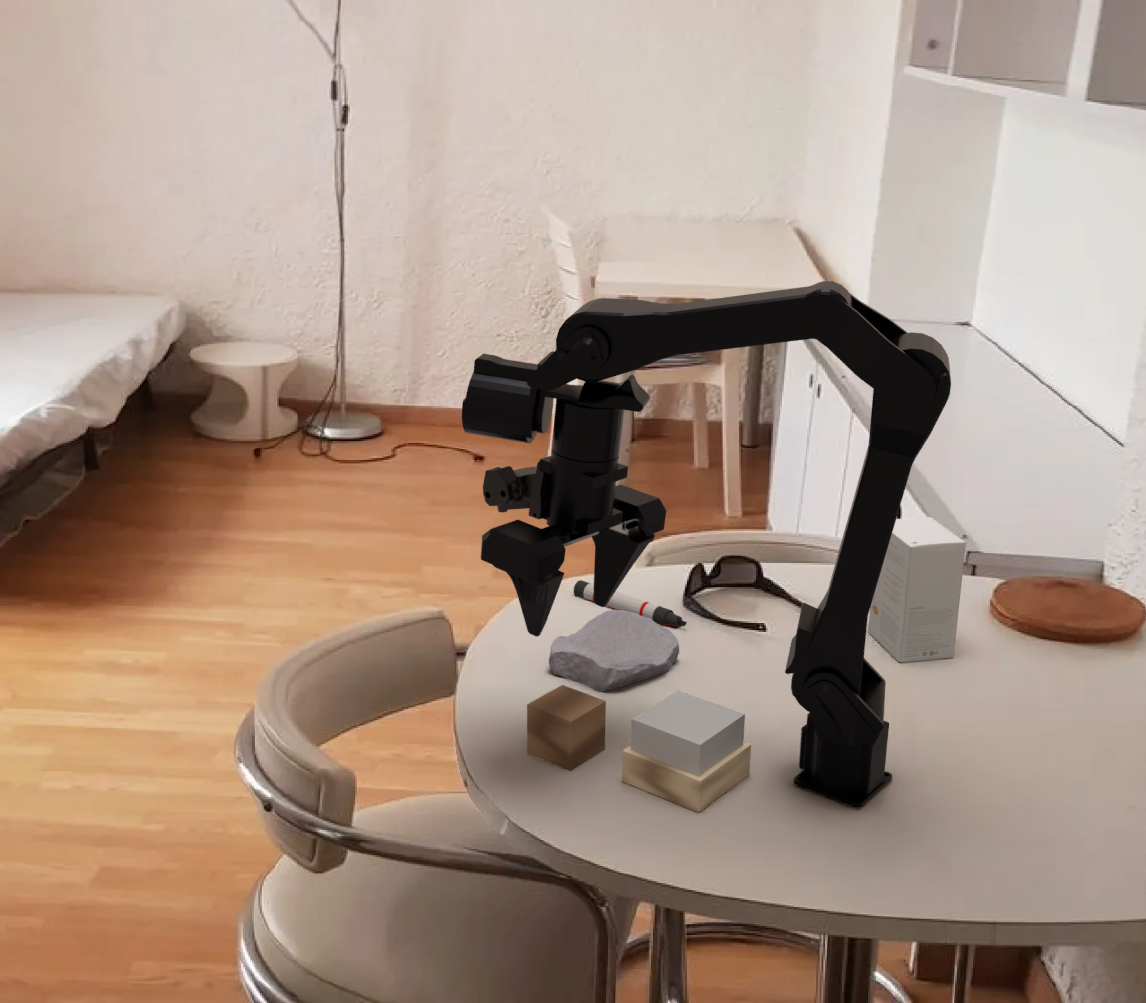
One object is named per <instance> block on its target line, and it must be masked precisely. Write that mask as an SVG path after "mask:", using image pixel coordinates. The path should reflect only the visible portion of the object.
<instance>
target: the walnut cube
mask: <svg viewBox="0 0 1146 1003" xmlns="http://www.w3.org/2000/svg"><path fill="white" fill-rule="evenodd" d="M606 707H607V702H606V700H604V699H603V698H602V699H601V698H599V697H596V696H594V695H591V694H588V693H585V692H583V691H580V690H577V689H575V688H572V687H569V686H566V685H564V684H562V685H561V684H560V685H559V686H557V687H556V688H554V689H553V690H550V691H549V692H546V693H545V694H543V695H541V696H539V697H538V698H536V699H535V700H533V701H531V702H529V703H527V704H526V713H527V714H526V737H527V738H526V744H527V745H526V746H527V747H526V751H527V753H526V754H528V755H530V756H532V757H534V758H535V757H536V758H537V759H539V760H541V761H544V762H547V763H549V764H552V765H554V766H557V767H559V768H561V769H564V770H566V771H569V772H572V771H573V770H575V769H577V768H578V767H580V766H583V764H585V763H586V762H588V761H590V760H591V759H593V758H594V757H596V756H598V755H599V754H601V753H602V752H604V751H605V750H606V723H607V720H606V719H607V718H606V712H607V708H606Z"/></svg>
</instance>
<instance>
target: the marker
mask: <svg viewBox="0 0 1146 1003" xmlns="http://www.w3.org/2000/svg"><path fill="white" fill-rule="evenodd" d="M573 594H574V596H576V597H579V598H582V599H584V600H586V601H590V602H592V601H593V603H594V583H592V582H588V581H585V580H578V581H576V583H575V584H574V586H573ZM605 607H607V608H611V609H612V610H623V611H627V612H633V613H637V614H639V615H640V616H643V617H645V618H650V619H651V620H653V621H654V622H655V623H658V624H659V625H660V624H661V626H662V627H666V626H671V627H675V628H680V627H681V626H682V627H685V626H686V625H687V623H688V621H685V620H683V618H682V617H681V616H680V615H677V614H675V612H674V610H672V609H669V608H666V607H663V606H661V605H658V604H655V603H653V602H648V601H646V600H643V599H639V598H637V597H634V596H631V595H629V594H625V593H622V592H619V591H617V590H616V591H615V593H614V594H613V596H612V597H611V599H610V600H609V602H608V604H607V605H606V606H605Z"/></svg>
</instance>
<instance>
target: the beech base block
mask: <svg viewBox="0 0 1146 1003" xmlns="http://www.w3.org/2000/svg"><path fill="white" fill-rule="evenodd" d="M751 751H752V744H751V743H748V742H745V741H743V745H742V746H741V747H740V748H738V749H737V750H735V751H734V752H733V753H731V754H730V755H728V756H727V757H726V758H724V759H723V760H721V761H720V762H719V763H717V764H716V765H715V766H713V767H712V768H710V769H709V770H708V771H706V772H705V773H703V774H702V775H701V776H699V777H698V776H695V775H693V774H690V773H688V772H685V771H683V770H680V769H677V768H675V767H672V766H670V765H667V764H665V763H662V762H660V761H657V760H655V759H652V758H649V757H647V756H644V755H642V754H639V753H637V752H634V751H632V750H631V745H629V746H628V747H625V748H624V749H622V759H621V760H622V766H621V769H622V770H621V781H622V782H623V783H625V784H627V785H630V786H633V787H635V788H638V789H641V790H642V791H644V792H647V793H650V794H651V795H652V794H653V795H655V796H657V797H660V798H662V799H665V800H666V801H670V802H672V803H675V804H676V805H679V806H681V807H683V808H686V809H689V810H692V811H693V812H697V813H700V811H701V812H703V810H705V809H706V808H707V807H708V806H710V805H711V804H712V802H713V803H714V802H715V801H716V800H718V799H719V798H721V797H720V796H723V795H725V794H726V793H727V792H729V791H730V790H731V789H732V788H734V787H735V786H737V785H738V784H739V783H741V782H742V781H744V780H745V779H747V777H749V776H750V772H751V771H750V770H751V757H752V756H751V754H752V752H751ZM725 792H726V793H725ZM704 808H705V809H704Z"/></svg>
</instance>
